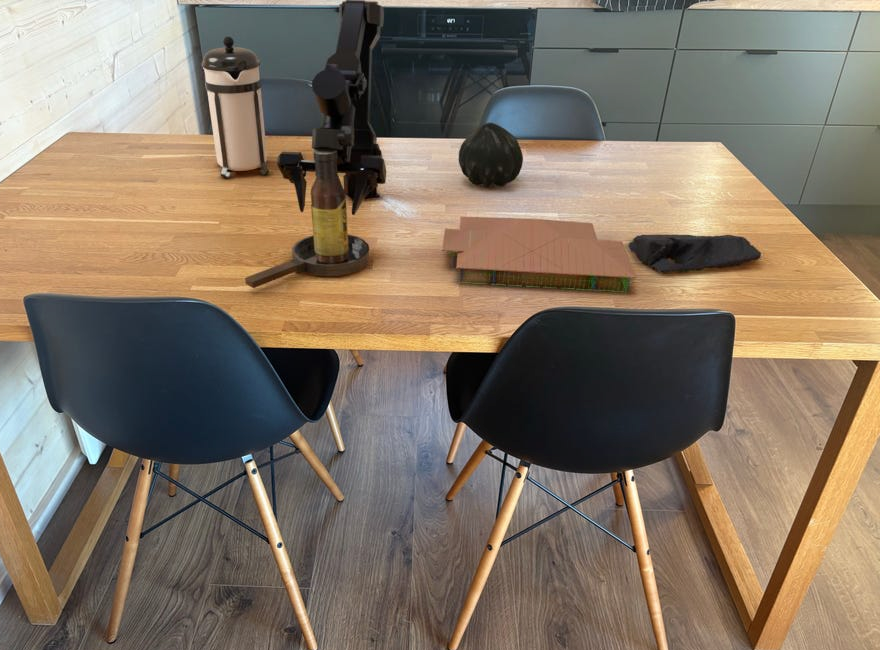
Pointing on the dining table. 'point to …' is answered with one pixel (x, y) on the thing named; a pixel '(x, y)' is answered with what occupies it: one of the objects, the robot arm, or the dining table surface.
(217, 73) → the coffee press
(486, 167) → the squash
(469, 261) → the house
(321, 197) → the sauce bottle
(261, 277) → the pan handle
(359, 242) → the cast iron pan
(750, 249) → the dark slate chunk
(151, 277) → the dining table surface
